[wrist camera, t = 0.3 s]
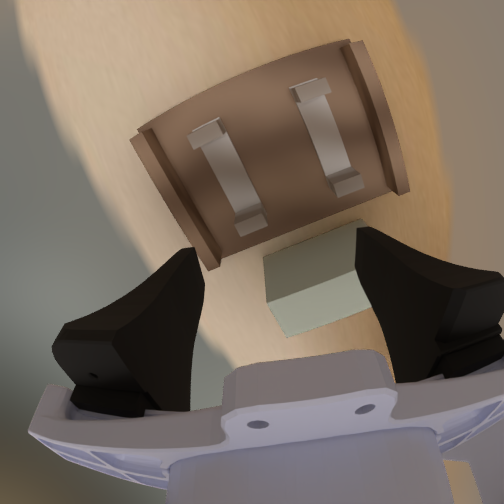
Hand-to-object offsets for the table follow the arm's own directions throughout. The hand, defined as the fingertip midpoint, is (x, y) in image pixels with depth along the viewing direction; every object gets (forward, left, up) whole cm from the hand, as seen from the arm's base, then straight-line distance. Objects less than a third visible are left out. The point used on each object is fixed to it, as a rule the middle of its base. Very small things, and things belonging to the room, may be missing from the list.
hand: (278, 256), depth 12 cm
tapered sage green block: (-8, +2, -10) cm, 13 cm away
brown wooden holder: (+1, -3, -10) cm, 10 cm away
